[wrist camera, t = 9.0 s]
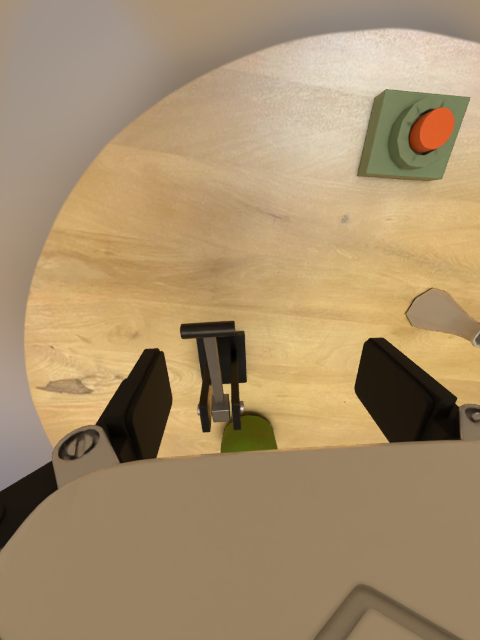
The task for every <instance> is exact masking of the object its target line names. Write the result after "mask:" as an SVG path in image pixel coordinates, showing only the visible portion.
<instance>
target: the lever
mask: <svg viewBox="0 0 480 640" xmlns="http://www.w3.org/2000/svg"><path fill="white" fill-rule="evenodd" d="M180 334H181V338H182V339H193V338H203V340H204V345H205V351H206V356H207V361H208V367H209V372H210V378H211V383H212V388H213V394H214V395H212V406H211V412H212V417H213V422H226V421H230V403H229V394H224V393H223V385H222V378H221V371H220V364H219V356H218V349H217V342H216V337H225V336H235V322H234V321H220V322H204V323H188V324H181V326H180Z"/></svg>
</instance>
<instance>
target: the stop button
mask: <svg viewBox="0 0 480 640" xmlns="http://www.w3.org/2000/svg"><path fill="white" fill-rule="evenodd" d="M453 128H454V115H453V113H452V112H451V111H450V110H449V109H448V108H444V107H441V108H437V109H435V110H433V111H431V112H429V113H427V114H425V115H423V116H421V117H420V118H419V119H418V120H417V121H416V122H415V123H414V125H413V127H412V129H411V131H410V135H409V143H410V146H411V148H412V149H413V150H414V151H416V152H419V153H422V152H426V151H430V150H433V149H436V148H439V147H440V146H442V145H443V144H444V143H445V142H446V141H447V140H448V139H449V137H450V136H451V134H452V131H453Z"/></svg>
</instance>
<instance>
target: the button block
mask: <svg viewBox="0 0 480 640" xmlns="http://www.w3.org/2000/svg"><path fill="white" fill-rule="evenodd" d="M469 101H470V97H461V96H451V95H440V94H430V93H419V92H409V91H398V90H388V89H386V90H384V91H383V92H382V93H381V94H379V95H378V96H377V97H375V100H374V105H373V109H372V114H371V118H370V123H369V127H368V131H367V136H366V140H365V145H364V149H363V154H362V158H361V163H360V167H359V172H358V176H367V177H381V178H395V179H409V180H423V181H432V180H438V179H442V177H443V175H444V172H445V169H446V166H447V163H448V160H449V158H450V155H451V152H452V149H453V146H454V143H455V140H456V138H457V135H458V132H459V129H460V126H461V123H462V121H463V118H464V115H465V112H466V109H467V106H468V103H469ZM441 107H444V108H448V109H449V110H450V111H451V112H452V113H453V115H454V128H453V131H452V134H451V136H450V137H449V139H448V140H447V141H446V142H445V143H444V144H443V145H442V146H440V147H439V148H436V149H433V150H430V151H426V152H422V153H419V152H416V151H414V150H413V149H412V148H411V146H410V143H409V135H410V131H411V129H412V127H413V125H414V123H415V122H416V121H417V120H418V119H419V118H420V117H421V116H423V115H425V114H427V113H429V112H431V111H433V110H435V109H437V108H441Z"/></svg>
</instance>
